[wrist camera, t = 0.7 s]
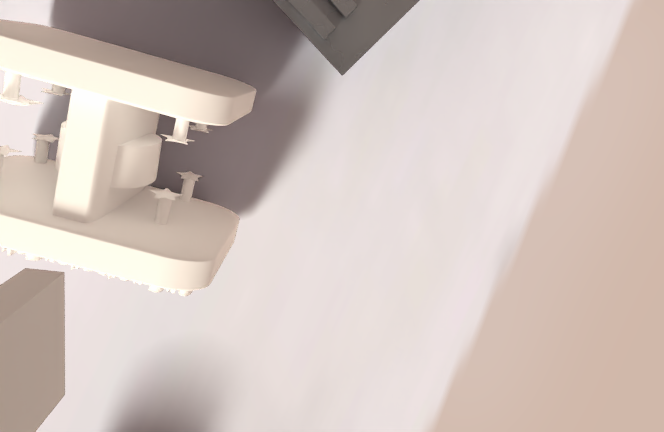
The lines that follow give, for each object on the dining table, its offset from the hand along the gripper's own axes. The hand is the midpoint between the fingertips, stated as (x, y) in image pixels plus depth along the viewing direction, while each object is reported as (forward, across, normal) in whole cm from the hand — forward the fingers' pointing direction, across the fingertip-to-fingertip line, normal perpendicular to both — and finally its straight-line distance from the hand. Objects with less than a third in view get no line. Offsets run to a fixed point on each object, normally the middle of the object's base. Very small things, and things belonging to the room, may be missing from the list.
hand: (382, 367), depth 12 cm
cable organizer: (+27, -13, 0) cm, 30 cm away
